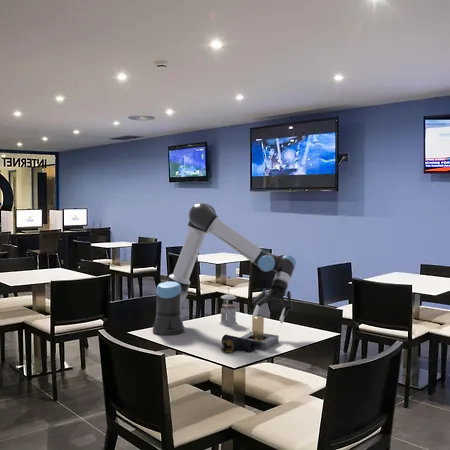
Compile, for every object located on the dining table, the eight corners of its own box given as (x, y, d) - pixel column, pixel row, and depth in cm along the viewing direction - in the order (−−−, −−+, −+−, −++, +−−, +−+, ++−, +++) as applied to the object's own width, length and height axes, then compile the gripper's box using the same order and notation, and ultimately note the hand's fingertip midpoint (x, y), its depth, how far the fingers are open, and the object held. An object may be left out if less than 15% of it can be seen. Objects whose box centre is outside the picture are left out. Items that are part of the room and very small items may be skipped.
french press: (221, 326, 260) (221, 277, 259) (216, 321, 271) (216, 274, 270) (240, 325, 262) (240, 276, 262) (234, 320, 274) (234, 273, 273)
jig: (236, 345, 223) (236, 338, 223) (250, 338, 235) (250, 331, 235) (265, 350, 216) (265, 342, 216) (278, 342, 228) (278, 335, 228)
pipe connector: (239, 344, 207) (211, 337, 217) (239, 357, 207) (211, 350, 217) (256, 339, 216) (229, 333, 225) (256, 351, 216) (228, 345, 226)
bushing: (250, 344, 225) (250, 317, 224) (254, 342, 229) (255, 315, 229) (260, 346, 222) (260, 318, 222) (265, 343, 227) (265, 316, 226)
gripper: (306, 290, 244) (294, 327, 231) (259, 285, 256) (245, 320, 243) (303, 280, 239) (290, 318, 226) (255, 276, 251) (240, 311, 238)
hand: (267, 319), depth 235 cm, fingers open, 13 cm apart
